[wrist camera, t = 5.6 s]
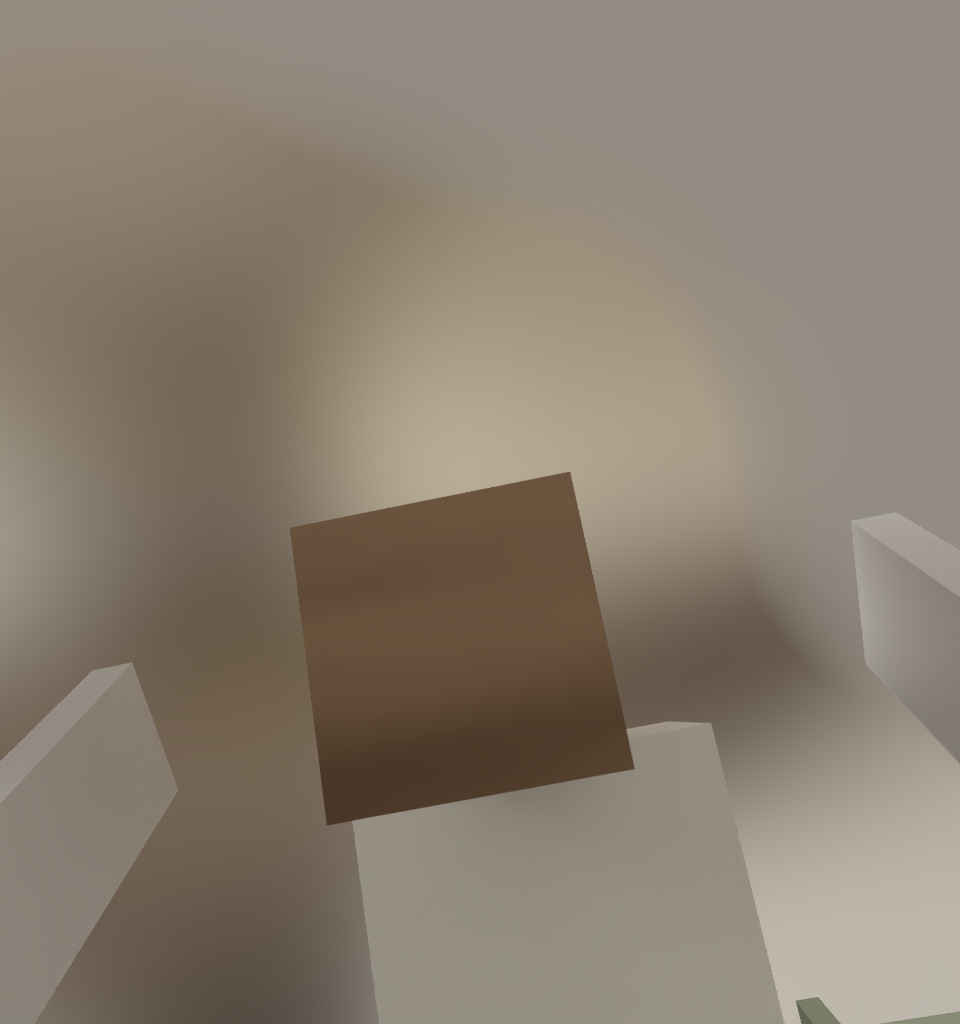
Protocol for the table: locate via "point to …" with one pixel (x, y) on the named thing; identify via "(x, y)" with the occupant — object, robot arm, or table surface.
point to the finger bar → (456, 650)
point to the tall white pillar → (571, 900)
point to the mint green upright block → (821, 1020)
